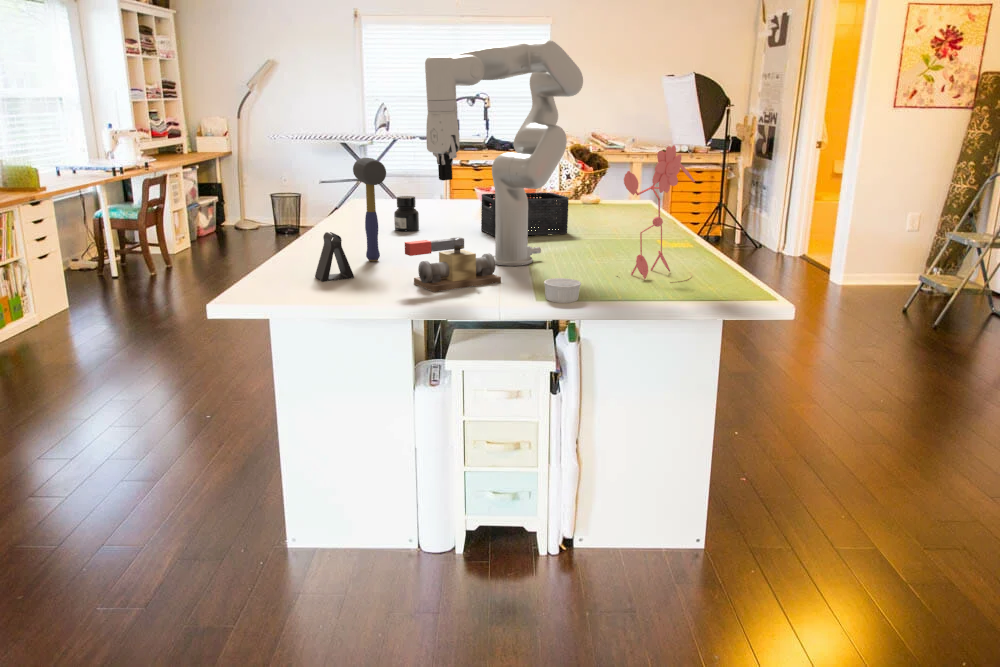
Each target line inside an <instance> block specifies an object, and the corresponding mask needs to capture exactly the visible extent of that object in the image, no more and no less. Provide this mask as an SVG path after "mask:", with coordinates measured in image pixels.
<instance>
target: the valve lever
mask: <svg viewBox="0 0 1000 667" xmlns="http://www.w3.org/2000/svg"><path fill="white" fill-rule="evenodd" d="M454 249H460V250H465V238H463V237H450V238H445V239H436V240H435V239H434V240H428V239H423V240H413V241H404V255H406V256H409V257H412V256H413V257H414V256H421V255H430V254H432V253H434V252H444V251H452V250H454Z"/></svg>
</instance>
